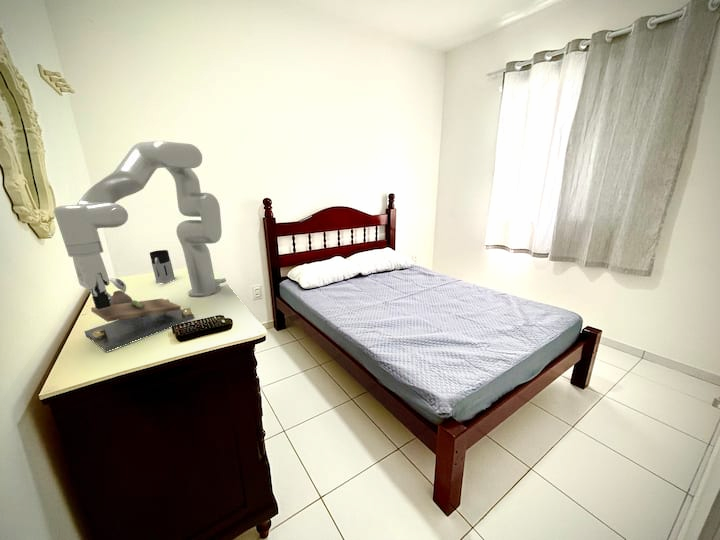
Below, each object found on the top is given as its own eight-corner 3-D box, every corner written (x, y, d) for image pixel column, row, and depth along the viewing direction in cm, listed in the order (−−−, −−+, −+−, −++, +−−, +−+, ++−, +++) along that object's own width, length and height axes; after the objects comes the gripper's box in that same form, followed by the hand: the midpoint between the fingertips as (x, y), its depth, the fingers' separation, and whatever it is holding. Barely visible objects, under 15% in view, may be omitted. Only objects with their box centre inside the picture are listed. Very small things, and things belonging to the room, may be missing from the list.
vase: (110, 318, 104) (103, 296, 101) (115, 311, 110) (108, 290, 107) (133, 314, 107) (127, 292, 104) (137, 307, 113) (131, 286, 110)
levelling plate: (161, 302, 108) (161, 294, 108) (180, 310, 101) (180, 301, 100) (91, 312, 91) (91, 302, 91) (107, 322, 84) (107, 312, 83)
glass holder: (177, 277, 150) (170, 249, 145) (172, 285, 137) (165, 255, 133) (157, 279, 146) (150, 251, 142) (151, 288, 134) (142, 257, 129)
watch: (128, 305, 116) (120, 279, 112) (103, 309, 112) (94, 282, 109) (132, 300, 121) (125, 275, 117) (108, 304, 117) (100, 278, 114)
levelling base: (168, 307, 113) (165, 294, 111) (194, 318, 102) (191, 304, 101) (85, 335, 93) (80, 320, 91) (107, 352, 83) (101, 335, 81)
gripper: (60, 248, 84) (79, 306, 89) (75, 254, 76) (96, 317, 81) (93, 244, 90) (109, 298, 95) (110, 248, 82) (127, 307, 87)
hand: (103, 307), depth 88 cm, fingers closed
